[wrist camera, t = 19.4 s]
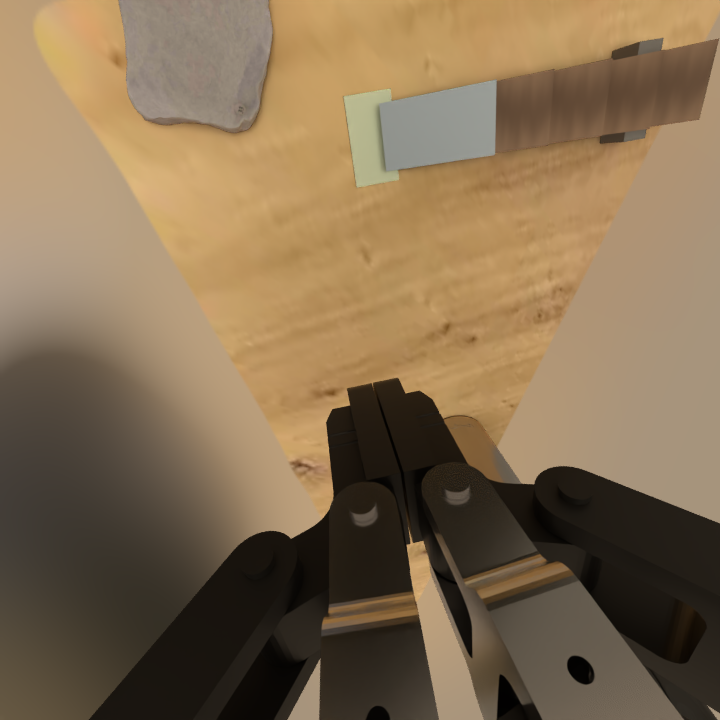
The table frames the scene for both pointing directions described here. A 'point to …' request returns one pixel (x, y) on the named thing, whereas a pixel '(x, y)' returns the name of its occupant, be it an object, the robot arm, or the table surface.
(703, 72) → the domino
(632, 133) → the block
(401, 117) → the domino
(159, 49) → the stone block
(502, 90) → the domino
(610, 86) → the domino
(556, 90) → the domino
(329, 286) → the table surface
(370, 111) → the pad
